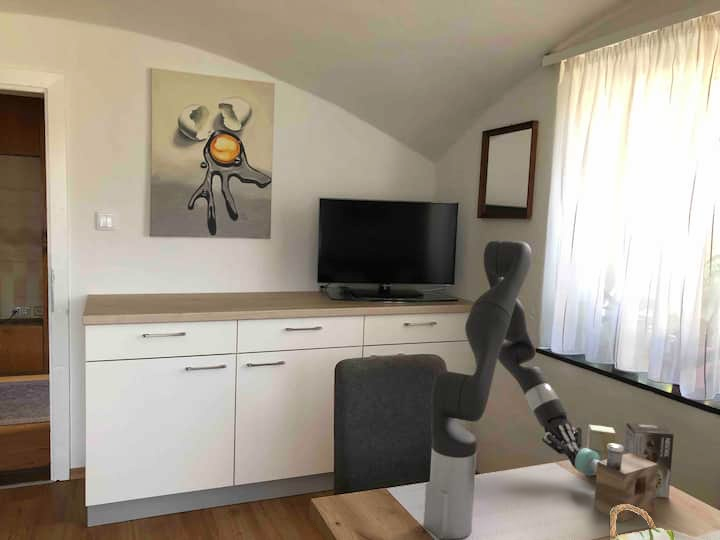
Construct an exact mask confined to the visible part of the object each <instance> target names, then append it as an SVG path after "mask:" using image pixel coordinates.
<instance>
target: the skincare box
mask: <svg viewBox="0 0 720 540" xmlns="http://www.w3.org/2000/svg"><path fill="white" fill-rule="evenodd" d="M615 441H616V431H615V429H614V427H610V426H603V425H595V424H588V429H587V440H586V447H585V448H587V449H590V450H592V451H594V452H597V453H598V455H599V458H600V461H602V460H606V459H607V454H608V449H607V444H609V443H614V444H616V443H615ZM596 475H597V472H595V473H594V474H593V475H592V476H596Z"/></svg>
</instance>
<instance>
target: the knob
mask: <svg viewBox="0 0 720 540" xmlns="http://www.w3.org/2000/svg"><path fill="white" fill-rule="evenodd" d="M598 461H600V458H599V455H598V453H597V452H594V451H592V450H590V449H587V448H586V447H584V448H580V449H579V450H578V454H577V456H576V459H575V467H576V469H575V470H576V471H577V472H579V473H581V474H584V475H586V476H587V477H590V476H594V475H593V474H594V473H595V472H597V463H598ZM635 484H636V479H635Z"/></svg>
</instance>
